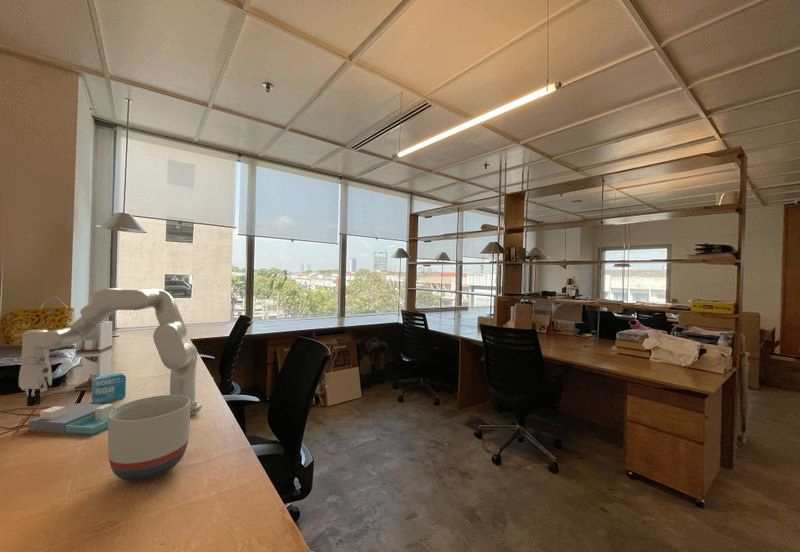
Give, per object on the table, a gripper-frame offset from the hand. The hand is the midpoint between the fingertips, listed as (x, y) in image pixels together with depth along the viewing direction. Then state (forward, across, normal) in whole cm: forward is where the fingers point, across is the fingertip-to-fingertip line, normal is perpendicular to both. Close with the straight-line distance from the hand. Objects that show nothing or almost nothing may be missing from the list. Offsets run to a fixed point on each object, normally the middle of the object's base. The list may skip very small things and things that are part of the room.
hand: (33, 404), depth 134 cm
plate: (+8, -12, -5) cm, 15 cm away
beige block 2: (+5, -21, -9) cm, 23 cm away
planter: (+7, -75, +23) cm, 79 cm away
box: (+8, -26, -5) cm, 28 cm away
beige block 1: (+4, -9, 0) cm, 10 cm away
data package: (+8, -4, -28) cm, 29 cm away
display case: (+9, +23, -44) cm, 50 cm away
